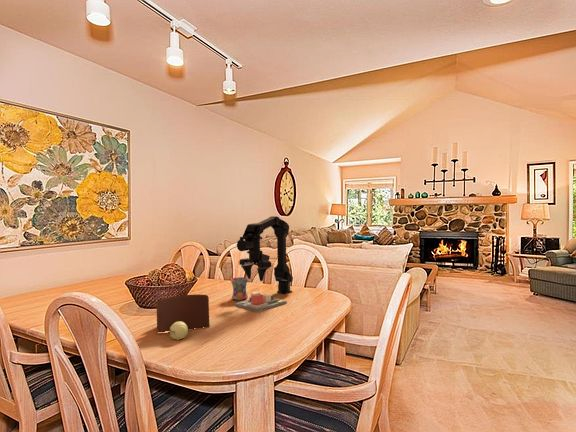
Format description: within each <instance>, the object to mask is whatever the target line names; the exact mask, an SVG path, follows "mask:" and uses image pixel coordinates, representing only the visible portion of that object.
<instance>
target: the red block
mask: <svg viewBox="0 0 576 432" xmlns="http://www.w3.org/2000/svg"><path fill="white" fill-rule="evenodd" d="M263 295H264V294H261V293H260V294H254V295H251V294H250V297H251V302H252V304H253V305H256V306H257V305H260V304H263Z"/></svg>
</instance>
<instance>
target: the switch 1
mask: <svg viewBox="0 0 576 432" xmlns="http://www.w3.org/2000/svg"><path fill="white" fill-rule="evenodd" d="M254 294H261V292H259V291H252V292H250V296H251V295H254Z"/></svg>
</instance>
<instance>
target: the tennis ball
mask: <svg viewBox="0 0 576 432" xmlns="http://www.w3.org/2000/svg"><path fill="white" fill-rule="evenodd" d="M188 333H189V330H188V327H187V325H186V324H185V323H184V322H181V321H178V322H175V323H174V324H173V325H172V326H171V327H170V333H169V336H170V338H171V339H173V340H174V339H182V338H184V337H185V338H186V336H187V335H188ZM185 338H184V339H185ZM182 340H183V339H182Z"/></svg>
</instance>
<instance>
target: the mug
mask: <svg viewBox="0 0 576 432" xmlns="http://www.w3.org/2000/svg"><path fill="white" fill-rule="evenodd" d="M248 281H249V279H248V277H245V276H244V277H243V276H242V277H240V276H239V277H233V278H230V282H231V284H232V289H233V291H232V296H231V299H232V300H235V301H243V300H246V299H247V298H248V293H247V283H248Z"/></svg>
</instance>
